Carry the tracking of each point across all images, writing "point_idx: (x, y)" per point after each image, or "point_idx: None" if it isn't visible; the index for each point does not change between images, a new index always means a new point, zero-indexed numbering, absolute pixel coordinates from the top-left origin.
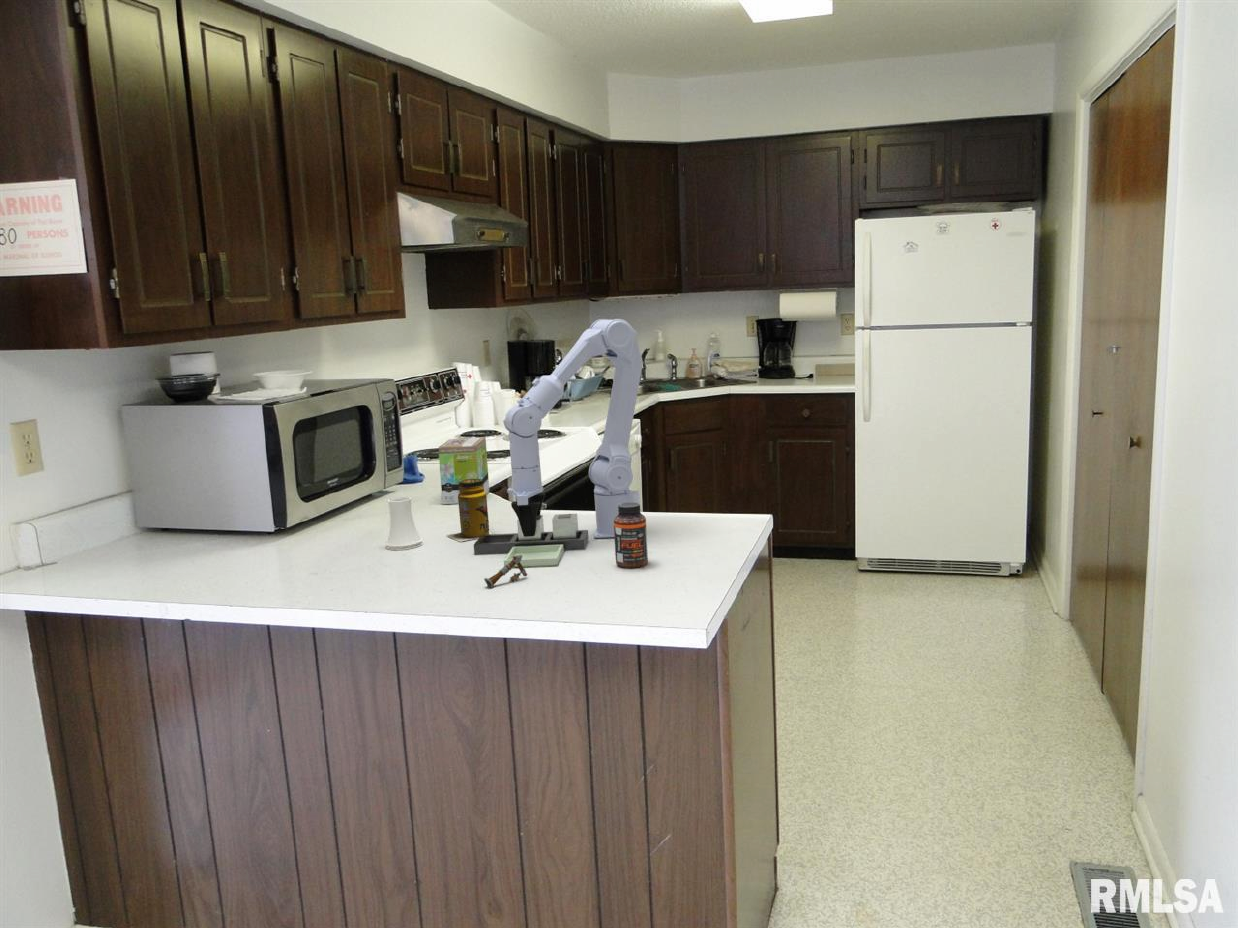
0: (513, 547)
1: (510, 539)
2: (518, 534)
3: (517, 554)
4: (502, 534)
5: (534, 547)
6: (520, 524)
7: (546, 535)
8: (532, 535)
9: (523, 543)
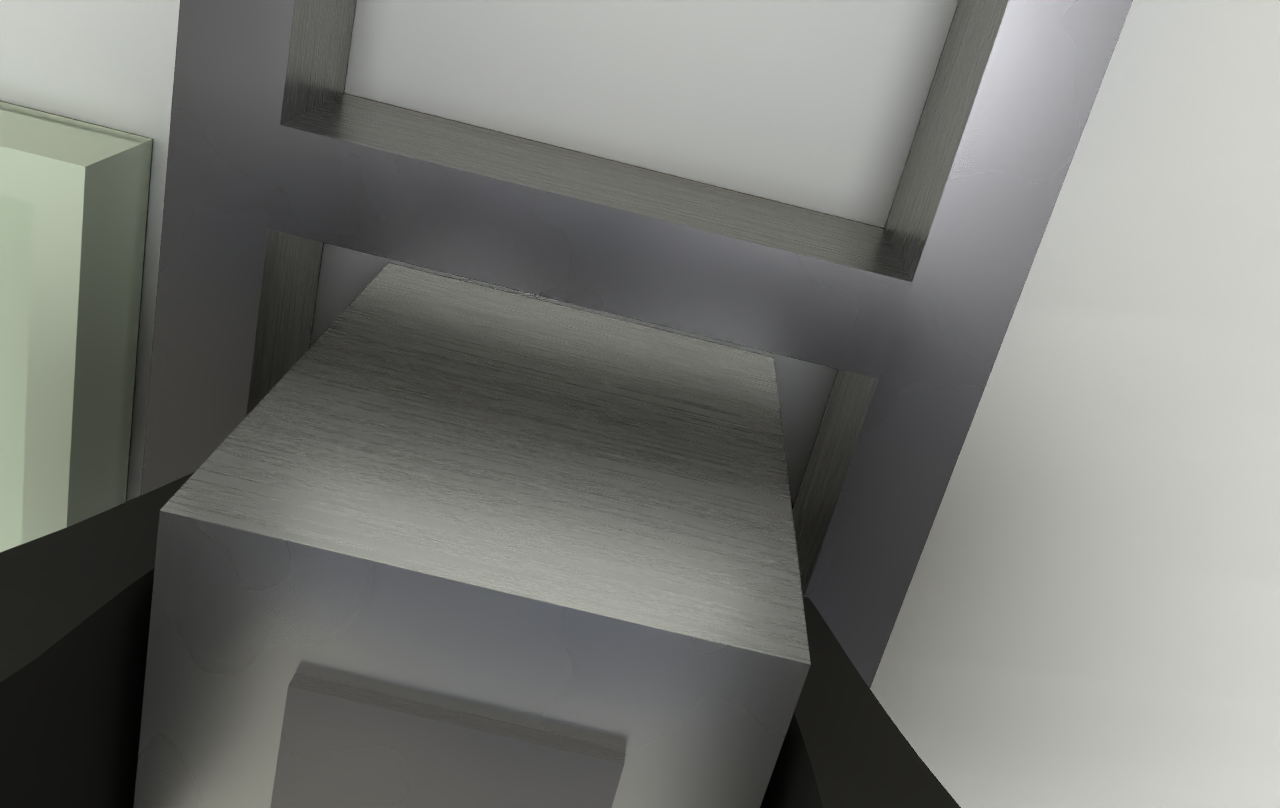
0: (22, 174)
1: (925, 165)
2: (297, 371)
3: (2, 206)
4: (1070, 14)
5: (28, 523)
6: (23, 544)
7: None
8: None
9: (157, 383)
